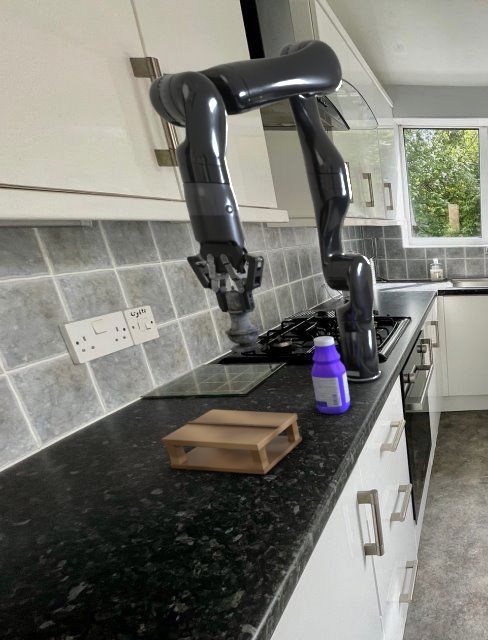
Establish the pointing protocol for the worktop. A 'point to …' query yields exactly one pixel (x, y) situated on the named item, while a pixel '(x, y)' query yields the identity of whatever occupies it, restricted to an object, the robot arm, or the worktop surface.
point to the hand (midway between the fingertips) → (238, 311)
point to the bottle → (329, 378)
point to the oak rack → (233, 441)
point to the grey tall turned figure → (240, 325)
